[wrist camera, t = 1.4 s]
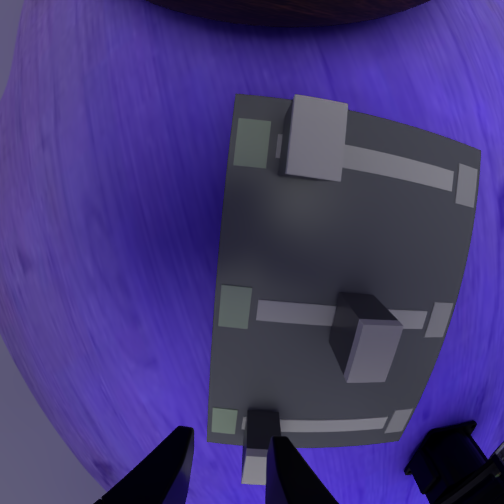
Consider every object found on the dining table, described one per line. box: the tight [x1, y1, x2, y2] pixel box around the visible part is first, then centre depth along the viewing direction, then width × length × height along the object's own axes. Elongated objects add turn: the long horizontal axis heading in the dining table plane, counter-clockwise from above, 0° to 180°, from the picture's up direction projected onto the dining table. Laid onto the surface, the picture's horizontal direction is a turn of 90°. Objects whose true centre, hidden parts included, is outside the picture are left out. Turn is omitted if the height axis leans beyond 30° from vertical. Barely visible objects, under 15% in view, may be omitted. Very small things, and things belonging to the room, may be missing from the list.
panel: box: [207, 94, 481, 448], centre depth 17 cm, size 15×22×2 cm
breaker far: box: [241, 410, 281, 485], centre depth 16 cm, size 2×3×4 cm, turn 174°
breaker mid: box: [329, 292, 404, 383], centre depth 14 cm, size 2×3×4 cm, turn 174°
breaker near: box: [278, 94, 348, 182], centre depth 12 cm, size 2×3×4 cm, turn 174°
